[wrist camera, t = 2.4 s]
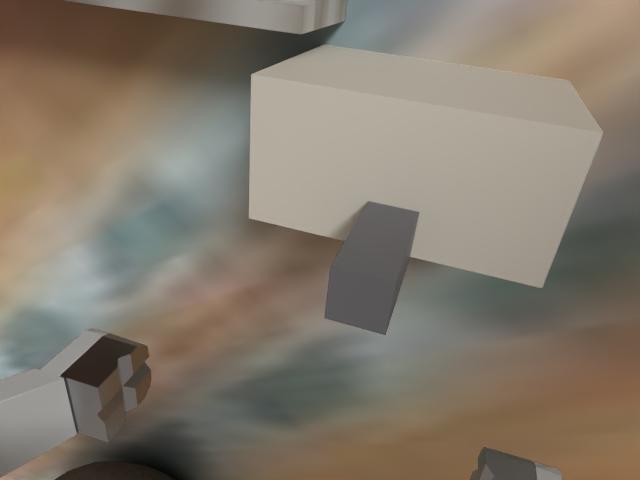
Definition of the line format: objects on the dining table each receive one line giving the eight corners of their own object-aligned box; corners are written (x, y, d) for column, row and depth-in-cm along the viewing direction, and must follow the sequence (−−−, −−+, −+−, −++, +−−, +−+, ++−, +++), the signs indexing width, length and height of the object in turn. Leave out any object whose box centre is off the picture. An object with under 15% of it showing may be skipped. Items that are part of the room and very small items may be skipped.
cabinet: (568, 79, 23) (643, 193, 11) (529, 196, 26) (554, 382, 14) (324, 44, 25) (175, 105, 14) (314, 153, 28) (186, 279, 17)
